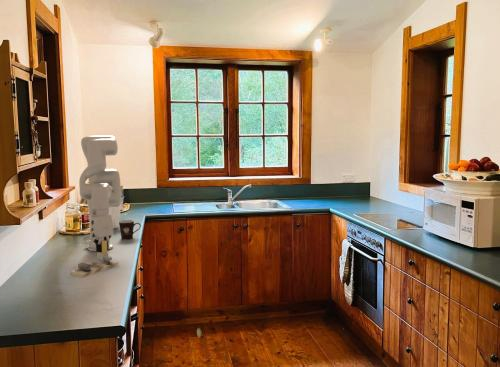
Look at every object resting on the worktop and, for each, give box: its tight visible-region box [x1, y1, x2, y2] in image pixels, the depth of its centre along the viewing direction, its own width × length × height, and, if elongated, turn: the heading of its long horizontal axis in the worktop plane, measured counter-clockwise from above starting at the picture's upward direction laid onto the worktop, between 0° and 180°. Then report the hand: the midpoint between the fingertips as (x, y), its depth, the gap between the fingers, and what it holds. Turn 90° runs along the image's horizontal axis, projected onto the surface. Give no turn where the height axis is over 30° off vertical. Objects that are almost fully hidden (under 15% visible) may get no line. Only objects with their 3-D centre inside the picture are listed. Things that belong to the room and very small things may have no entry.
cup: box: [109, 198, 123, 229], centre depth 293 cm, size 11×11×18 cm
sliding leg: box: [96, 240, 113, 263], centre depth 210 cm, size 3×7×10 cm, turn 59°
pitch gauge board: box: [69, 260, 119, 278], centre depth 205 cm, size 20×8×4 cm, turn 149°
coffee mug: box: [118, 219, 142, 240], centre depth 264 cm, size 12×9×10 cm
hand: (102, 250), depth 211 cm, fingers closed on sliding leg, 3 cm apart
